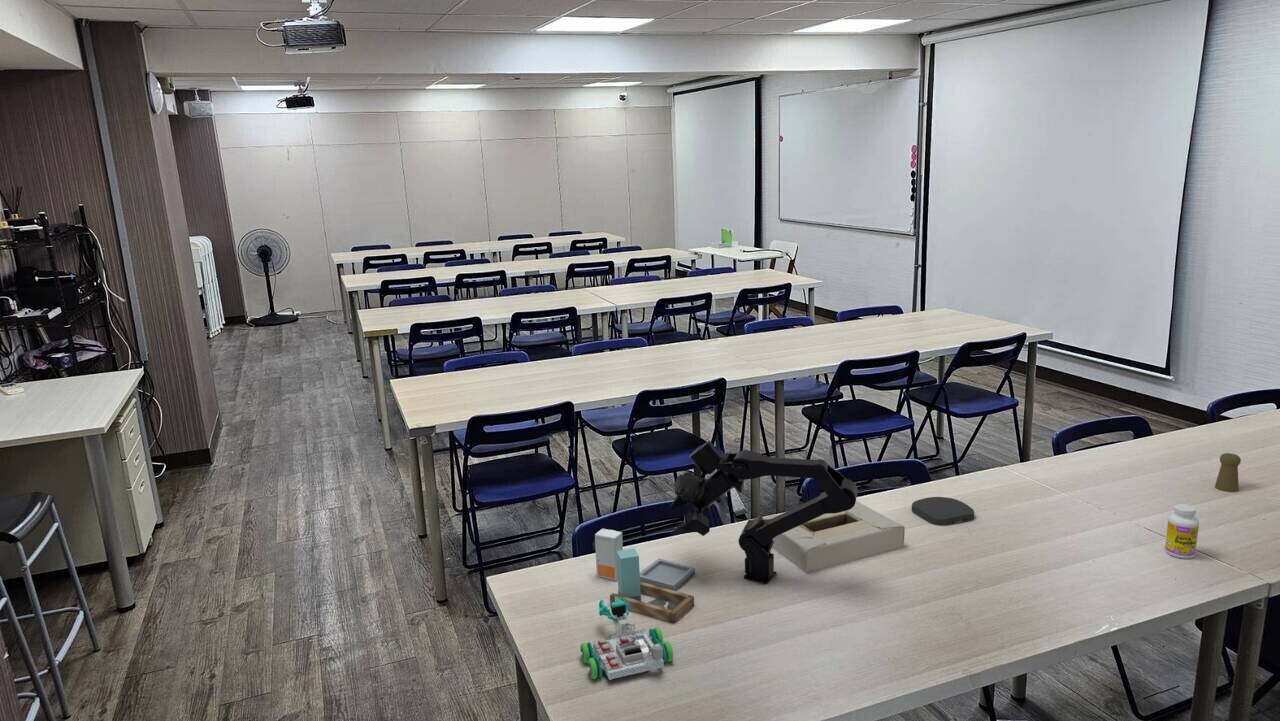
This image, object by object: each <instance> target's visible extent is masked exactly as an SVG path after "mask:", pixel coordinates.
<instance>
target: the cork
mask: <svg viewBox="0 0 1280 721" xmlns="http://www.w3.org/2000/svg"><path fill="white" fill-rule="evenodd" d="M1219 461H1220V462H1219V463H1220V467H1219V471H1218V475H1217V478H1216V482H1215V485H1214V488H1215V489H1217V490H1219V491H1221V492H1226V493H1237V492H1239V491H1240V489H1239V488H1240V487H1239V485H1240V484H1239V469H1238V468H1239V465H1240V464H1241V457H1240V456H1239V455H1238V454H1236V453H1230V452H1226V453H1225V452H1224V453H1222V454H1221V455H1220V456H1219Z"/></svg>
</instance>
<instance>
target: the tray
mask: <svg viewBox="0 0 1280 721" xmlns="http://www.w3.org/2000/svg"><path fill="white" fill-rule="evenodd" d="M695 576H696V567H694V566H691V565H686V564H682V563H678V562H674V561H672V560H671V561H670V560H666V559H664V558H657V559H656V560H654V562H652V563H651V564H649V565H648V566H647V567H646V568H644V569H642V570H641V571H640V581H641V582H645V583H648V584H652V585H655V586H659V587H663V588H666V589H670V590H674V591H677V592H678V590H679V589H680V588H682V587H683V586H684V585H685V584H686V583H687V582H688V581H689V580H691V579H692V578H693V577H695Z"/></svg>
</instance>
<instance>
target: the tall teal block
mask: <svg viewBox="0 0 1280 721" xmlns="http://www.w3.org/2000/svg"><path fill="white" fill-rule="evenodd" d="M616 554H617V574H618V580H617V592H618V593H617V594H618V595H621V596H625V597H628V598H632V599H635V600H638V601H642V594H641V593H640V572H641V571H640V556H639V554H638V551H636V549H635V547H633V548H632V547H631V548H627V549H623V550H619V551H616Z"/></svg>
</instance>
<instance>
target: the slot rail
mask: <svg viewBox="0 0 1280 721" xmlns="http://www.w3.org/2000/svg"><path fill="white" fill-rule="evenodd" d="M640 593H641V595H646V596H648V597H649V596H650V597H652V598H655V599H657V598H660V597H661V598H663V599H664V600H666V602H668V603H669V602H676V603H680V604H679V605H677V606H676V607H675V608H674V609H673V610H669V609H668V608H667V607H665V608H663V607H659V606H656V605H652V604H649V603H648V602H645V601H642V600H641V601H638V600H635V599H632V598H628V597H625V596H621V595H618V593H614V592H612V593H611V594H609V605H610V606H611V603H612V602H615V596H618V597H620V598H622V599H624V600H625V601H626V602H627V603H629V604H630V605H629V607H630V609H628V610H627V611H631V612H634V613H637V614H640V615H643V616H647V617H651V618H653V619H658V620H661V621H664V622H666V623H667V622H668V623H670V624H673V625H674V624H676V623H677V622H678V621H679V620H680V619H681V618H682V617H684V615H686V614H687V613H688V612H689V611H690V610H691V609H692V608H693V607H694V606H695V596H694V595H691V594H687V593H684V592H680V591H678V590H677V591H674V590H670V589H666V588H663V587H659V586H655V585H652V584H648V583H645V582H641V581H640Z"/></svg>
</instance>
